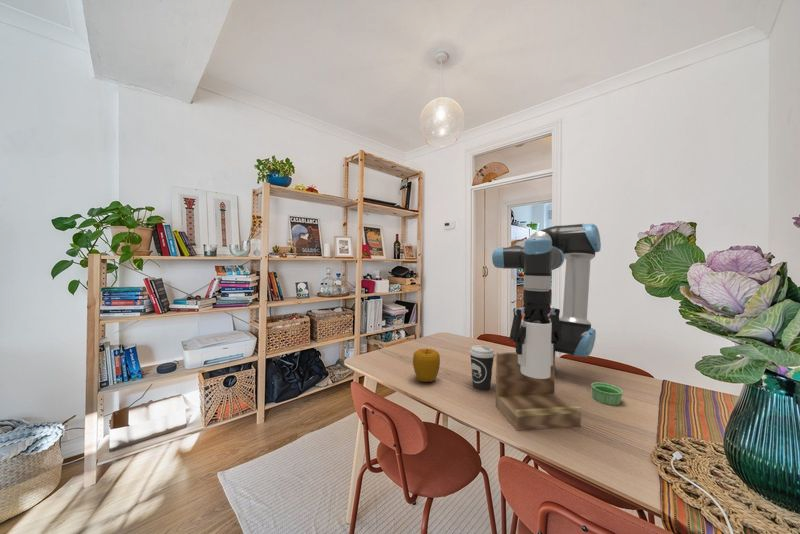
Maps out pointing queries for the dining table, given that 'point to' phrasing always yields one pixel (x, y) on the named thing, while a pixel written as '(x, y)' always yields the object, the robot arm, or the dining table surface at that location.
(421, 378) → the apple
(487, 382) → the coffee cup
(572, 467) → the dining table surface
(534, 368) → the cup
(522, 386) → the shelf
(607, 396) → the ramekin
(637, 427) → the dining table surface
